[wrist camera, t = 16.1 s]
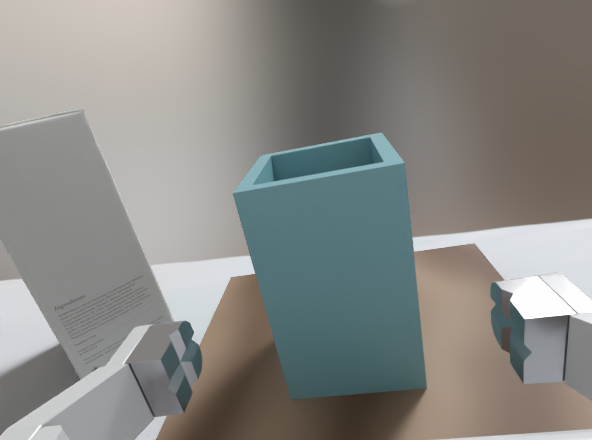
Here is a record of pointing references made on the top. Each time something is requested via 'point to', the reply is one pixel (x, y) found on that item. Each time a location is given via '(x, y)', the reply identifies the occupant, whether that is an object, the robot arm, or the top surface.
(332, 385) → the teal pencil cup
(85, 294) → the skincare box
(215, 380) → the base
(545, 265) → the top surface
